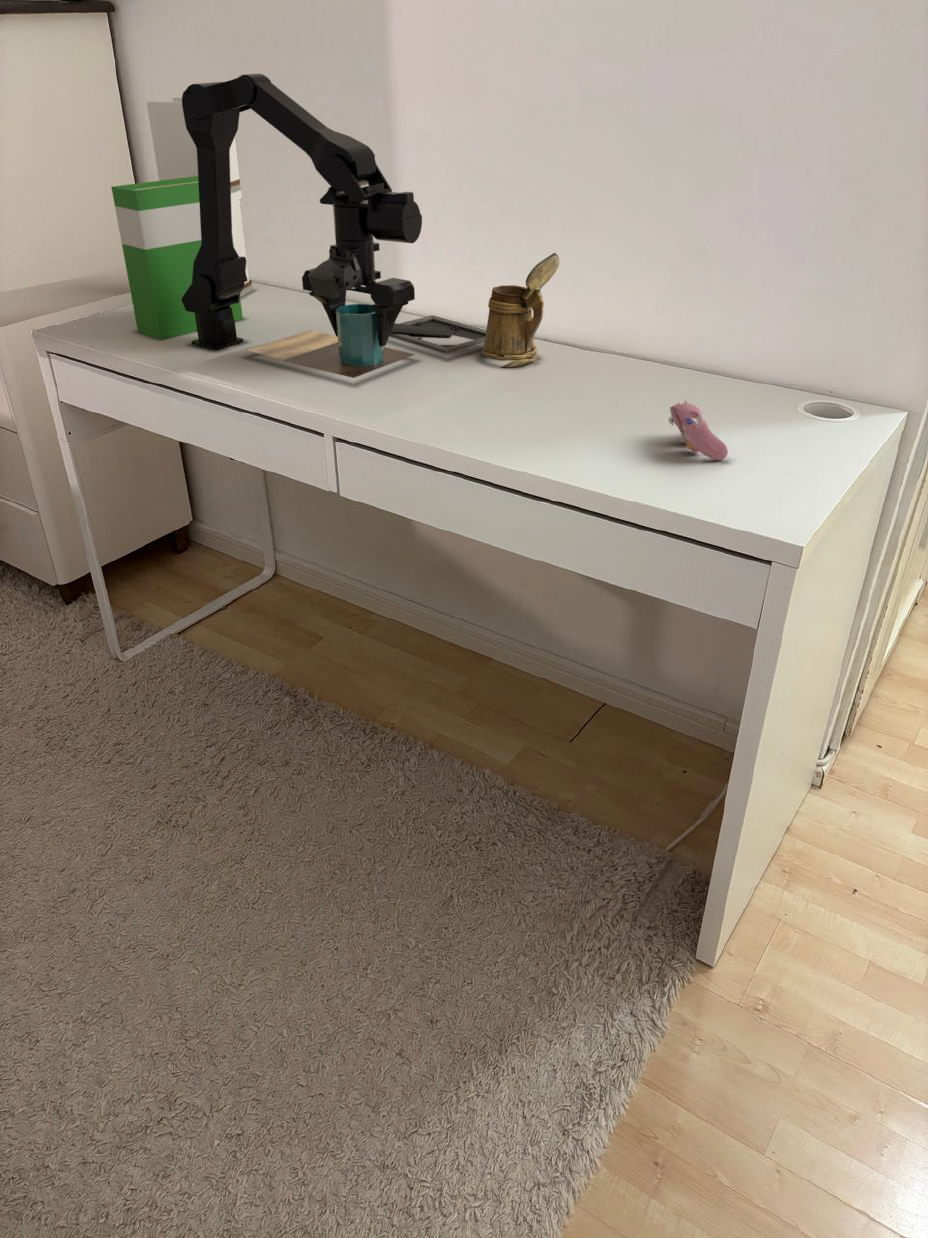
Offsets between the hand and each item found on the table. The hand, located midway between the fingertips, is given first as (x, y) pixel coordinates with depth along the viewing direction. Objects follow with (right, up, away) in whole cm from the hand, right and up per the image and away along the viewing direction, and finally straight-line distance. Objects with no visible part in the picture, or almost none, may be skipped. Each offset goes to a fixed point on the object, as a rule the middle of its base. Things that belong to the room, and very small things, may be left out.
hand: (360, 341), depth 151 cm
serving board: (-6, -1, +6) cm, 8 cm away
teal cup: (0, -3, +2) cm, 3 cm away
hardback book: (-34, +10, +24) cm, 42 cm away
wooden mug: (+25, -2, +4) cm, 26 cm away
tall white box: (-34, +22, +43) cm, 59 cm away
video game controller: (+47, -22, -27) cm, 58 cm away
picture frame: (+12, +4, +15) cm, 20 cm away
